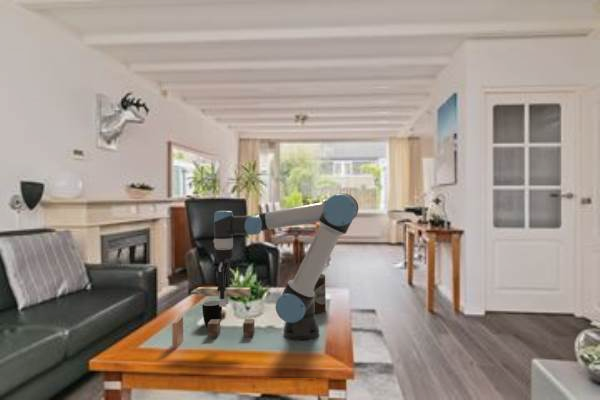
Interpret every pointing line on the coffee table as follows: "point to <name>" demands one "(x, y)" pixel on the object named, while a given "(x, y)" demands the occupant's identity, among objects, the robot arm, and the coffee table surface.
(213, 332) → the tool rest
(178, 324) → the tile
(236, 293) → the beige stone bar
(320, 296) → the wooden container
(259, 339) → the coffee table surface
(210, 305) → the mug
